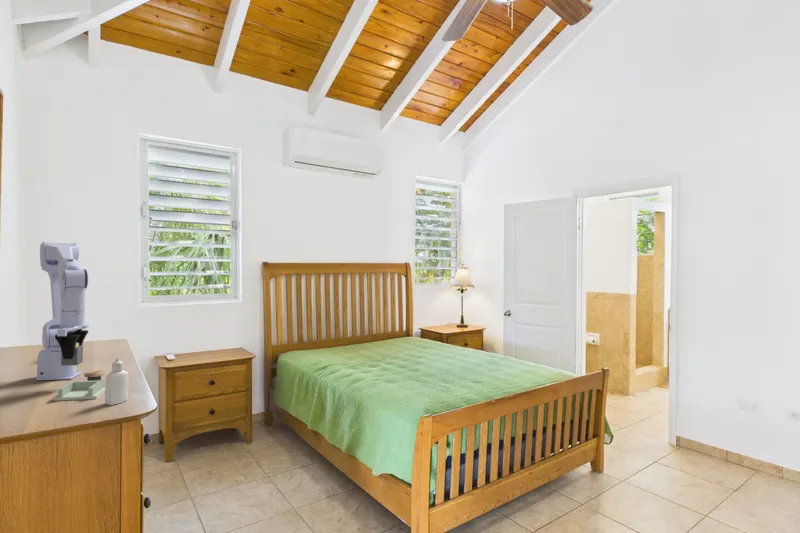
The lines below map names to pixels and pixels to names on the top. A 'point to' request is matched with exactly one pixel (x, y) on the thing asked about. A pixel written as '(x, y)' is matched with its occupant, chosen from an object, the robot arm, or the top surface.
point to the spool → (94, 375)
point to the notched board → (80, 390)
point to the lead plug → (74, 357)
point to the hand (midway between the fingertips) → (71, 356)
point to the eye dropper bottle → (116, 384)
